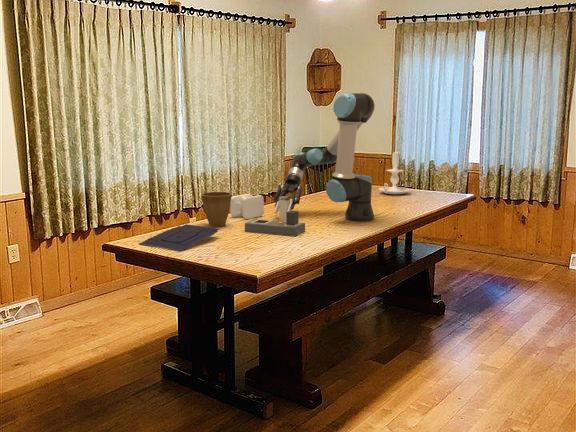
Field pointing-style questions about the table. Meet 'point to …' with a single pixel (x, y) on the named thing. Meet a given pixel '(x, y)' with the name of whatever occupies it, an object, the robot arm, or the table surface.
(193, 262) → the table surface
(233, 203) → the white lumpy block
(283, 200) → the plug
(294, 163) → the robot arm
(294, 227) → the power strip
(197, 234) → the dark blue folded cloth
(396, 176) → the candlestick
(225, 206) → the plant pot
